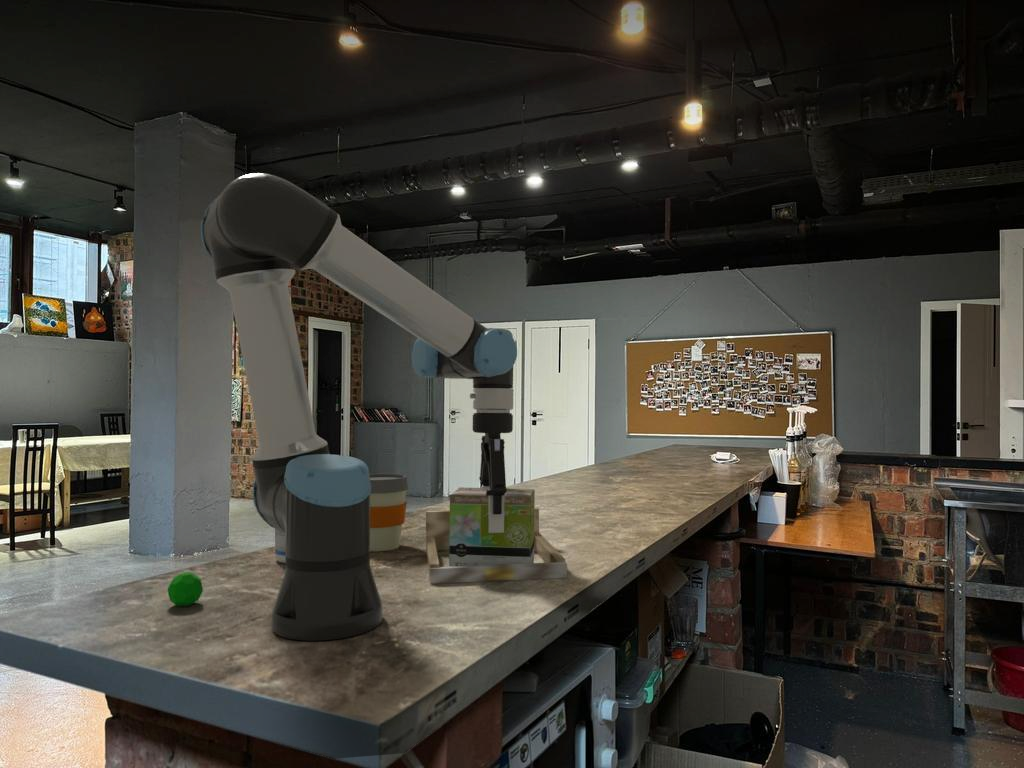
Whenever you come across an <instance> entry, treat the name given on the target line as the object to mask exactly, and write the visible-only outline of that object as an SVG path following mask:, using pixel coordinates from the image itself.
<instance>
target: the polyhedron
mask: <svg viewBox="0 0 1024 768" xmlns="http://www.w3.org/2000/svg"><path fill="white" fill-rule="evenodd" d="M203 592H204V588H203V583H202V579H201V578H200V577H199V575H197V574H195V573H192V572H183V573H179V574H178V575H176V576H175V577H173V578H172V580H171V582H170V583H169V585H168V588H167V595H168V598H169V601H170V602H171V603H173V605H176V606H178V607H188V605H189V606H191V605H193V604H194V603H196V602H198V601H199V600H200V598H201V596H202V593H203Z"/></svg>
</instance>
